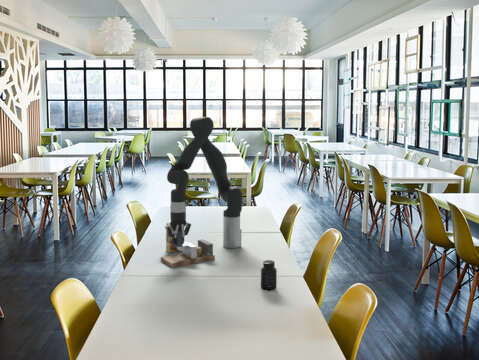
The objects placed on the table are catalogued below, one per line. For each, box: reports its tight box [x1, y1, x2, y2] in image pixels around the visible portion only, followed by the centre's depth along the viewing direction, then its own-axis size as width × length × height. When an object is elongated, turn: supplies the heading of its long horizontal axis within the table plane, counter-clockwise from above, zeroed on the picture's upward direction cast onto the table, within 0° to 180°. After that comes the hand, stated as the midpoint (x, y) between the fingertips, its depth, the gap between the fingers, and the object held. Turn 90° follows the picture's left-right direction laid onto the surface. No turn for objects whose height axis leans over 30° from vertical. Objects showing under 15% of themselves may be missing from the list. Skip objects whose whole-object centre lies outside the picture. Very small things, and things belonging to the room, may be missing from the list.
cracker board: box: [160, 239, 216, 268], centre depth 259 cm, size 24×12×8 cm, turn 124°
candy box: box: [165, 222, 180, 253], centre depth 274 cm, size 9×4×15 cm, turn 123°
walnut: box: [197, 246, 201, 256], centre depth 262 cm, size 4×4×4 cm
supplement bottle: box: [260, 259, 278, 292], centre depth 222 cm, size 7×7×12 cm
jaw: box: [174, 230, 198, 259], centre depth 256 cm, size 9×10×14 cm
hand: (178, 244), depth 255 cm, fingers closed on jaw, 3 cm apart
